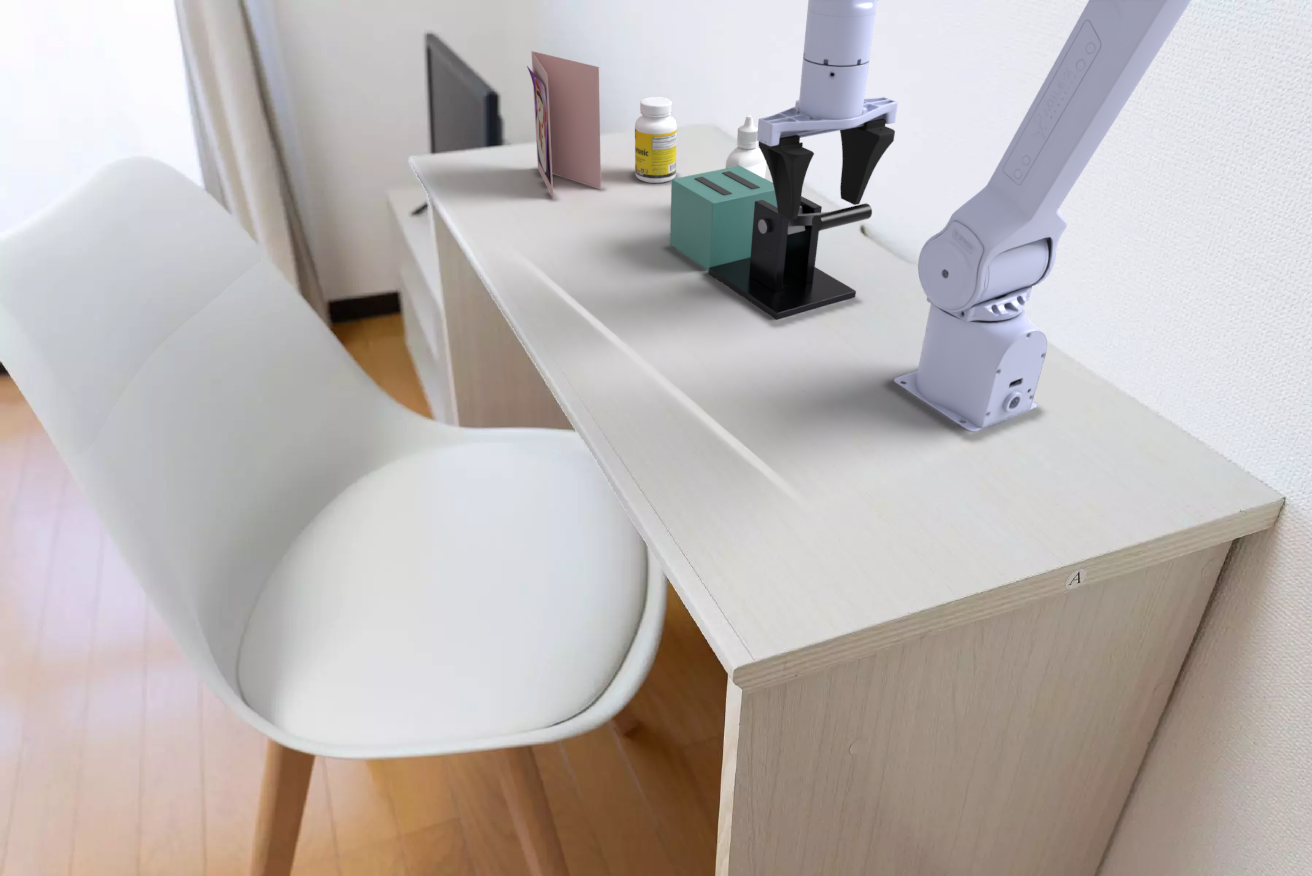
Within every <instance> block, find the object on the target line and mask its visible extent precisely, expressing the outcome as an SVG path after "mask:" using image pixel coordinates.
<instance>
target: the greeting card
mask: <svg viewBox="0 0 1312 876" xmlns="http://www.w3.org/2000/svg"><path fill="white" fill-rule="evenodd" d="M526 68H527V70H528V72H529V75H530V78H531V82H532V88H533V105H534V123H535V138H536V139H535V142H536V159H537V161H536V162H537V170H538V172H539V174H540V176H541V178H542V179H543V182H544V183H545V186H546V187H547V190H548V193H550V196H551V198H552V199H554V179H553V174H554V175H556V176H559V177H562V178H565V179H569V180H570V181H571V180H572V181H575V182H577V183H580V184H584V185H587V186H589V187H593V188H596V189H598V190H601V189H602V168H601V167H602V166H601V165H602V163H601V162H602V159H601V111H600V107H601V106H600V104H601V103H600V67H599V66H596V65H592V64H588V63H584V62H580V61H575V60H571V59H566V58H562V57H559V56H554V55H550V54H546V53H542V52H538V51H533V50H531V69H532V70H531V69H530V68H529V66H528V65H527V66H526Z"/></svg>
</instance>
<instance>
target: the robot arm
mask: <svg viewBox="0 0 1312 876" xmlns="http://www.w3.org/2000/svg"><path fill="white" fill-rule="evenodd" d="M878 1H879V0H807V11H806V22H805V24H806V25H805V32H804V33H805V34H804V42H803V43H804V44H803V54H802V56H803V57H802V66H801V75H800V77H801V78H800V85H799V86H800V87H799V97H798V99H797V100H796V101H795V104H794V105H795V106H793V107H791V108H788V109H786V110H782V111H779V112H777V113H775V114H773V115H770V116H766V117H765V116H764V117H760V118H758V123H757V128H758V135H757V140H758V147H759V148H760V150H761V152H762V154H763V156H764V158H765V160H766V166H767V168H768V171H769V174H770V177H771V180H772V181H771V182H772V183H773V185H774V190H775V195H776V201H777V208H778V214H780V215H782V216H784V217H786V218H788V219H790V220H793V219H797V216H798V213H799V209H800V202H801V196H802V193H803V188H804V187H803V186H804V182H805V178H806V175H807V172H808V169H809V167H810V163H811V161H812V159H813V157H814V155H815V153H814V152H813V151H812V150H810V149H808V148H806V147H804V143H803V142H800V141H801V138H807V137H812V136H818V135H823V134H827V133H833V132H838V131H839V133H840V142H841V153H842V154H841V155H842V156H841V158H842V161H841V163H842V165H841V174H840V175H841V176H840V185H839V186H840V190H839V191H840V192H839V193H840V200H843V201H845V202H846V203H849V204H851V205H853V206H857V205H860V203H861V201H862V198H863V197H864V193H865V191H866V188H867V186H868V184H869V181H870V179H871V177H872V175H873V173H874V172H875V168H876V167H877V165H878V163H879V161H880V160H881V159H882V157H883V155H884V154H885V153H886V151H887V149H888V148H889V147H890V146H891V145H892V144H893V142H894V141H895V136H896V135H895V133H896V130H895V129H894V128H891V127H888V126H886V125H889V124H890V125H891V124H895V123H896V117H897V111H898V106H899V105H898V104H899V101H896V100H893V99H891V98H888V97H885V96H881V97H873V98H871V97H870V98H865V95H866V87H867V82H868V81H867V80H868V74H869V66H870V58H871V57H870V56H871V50H872V43H873V35H874V27H875V19H876V11H877V5H878ZM1191 1H1192V0H1088V1H1087V3H1086V5H1085V7H1084V8H1083V10H1082V12H1081V14H1080V16H1079V17H1078V20H1077V21H1076V23H1075V25H1074V26H1073V28H1072V30H1071V32H1070V34H1069V35H1068V37H1067V39H1066V40H1065V43H1064V45H1063V46H1062V48H1061V50H1060V52H1059V54H1058V56H1057V57H1056V59H1055V61H1054V63H1053V65H1052V67H1050V70H1049V71H1048V74H1047V75H1046V77H1045V79H1044V81H1043V83H1042V84H1041V86H1040V88H1039V90H1038V92H1037V94H1036V95H1035V97H1034V99H1033V101H1032V103H1031V105H1030V106H1029V108H1028V110H1027V112H1026V114H1025V115H1024V117H1023V119H1022V121H1021V122H1020V124H1019V126H1018V128H1017V129H1016V132H1015V134H1014V135H1013V137H1012V139H1011V141H1010V142H1009V145H1008V146H1007V148H1006V149H1005V151H1004V153H1003V155H1002V157H1001V159H1000V161H999V163H998V164H997V166H996V168H995V170H994V171H993V173H992V175H991V177H990V179H989V181H988V182H987V184H986V185H985V186H984V187H983V188H982V189H981V190H979V192H977V193H976V194H975V195H973V196H972V197H971V198H970V199H969V200H967V201H966V202H965V203H963V204H962V205H961V206H960V207H959V208H957V209H956V210H955V211H954V212H953V213H952V214H951V216H950V218H949V220H948V221H947V223H946V224H945V226H944V227H943V229H941V230H940V231H939V232H937V233H936V234H934V235H931V237H930V238H929V239H927V240H926V242H925V243H924V244H923V246H922V248H921V250H920V252H919V255H918V261H917V272H918V278H919V282H920V285H921V289H922V290H923V292H924V294H925V295H926V302H928V303H929V311H928V314H927V315H928V316H927V321H926V326H925V331H924V336H923V339H922V345H921V351H920V356H919V360H918V361H919V362H918V365H917V366H918V367H917V370H914V371H911V372H908V373H905V374H902V375H900V376H897V377H894V378H893V382H894V383H895V384H897V385H898V386H900V387H901V388H903V389H904V390H906V391H907V392H909V393H910V394H912V395H914V397H917V398H918V399H920V400H921V401H923V402H924V403H925V404H927V405H929V406H930V407H931V408H933V409H935V410H936V411H938V412H940V413H941V414H942V415H944V416H945V417H947V418H948V419H950V420H951V421H953V422H955V423H956V424H957V425H959V426H961V427H962V428H963V429H965V430H966V431H968V432H972V433H975V432H979V431H980V430H983V429H986V428H988V427H990V426H993V425H995V424H998V423H1001V422H1003V421H1006V420H1008V419H1011V418H1014V417H1016V416H1019V415H1021V414H1023V413H1026V412H1029V411H1032V410H1034V409H1036V408H1037V406H1038V405H1037V403H1036V402H1034V398H1035V395H1036V391H1037V388H1038V383H1039V380H1040V376H1041V373H1042V371H1043V366H1044V362H1045V359H1046V355H1047V351H1048V339H1047V336H1046V334H1045V333H1044V332H1043V331H1042V330H1041V329H1040V328H1038V327H1037V326H1036V325H1034V323H1033V322H1031V320H1030V319H1029V317H1028V316H1027V314H1026V311H1025V309H1024V307H1025V304H1026V302H1028V301H1029V300H1030V296H1031V293H1032V288H1033V287H1035V286H1037V285H1039V284H1041V283H1042V282H1044V281H1045V280H1046V279H1047V278H1048V276H1049V275H1050V274H1051V272H1052V271H1053V268H1054V266H1055V262H1056V255H1057V247H1058V244H1059V242H1060V239H1061V237H1062V235H1063V234H1064V233H1065V230H1066V229H1067V227H1068V223H1067V221H1066V218H1065V217H1064V214H1063V213H1062V211H1061V210H1060V208H1061V206H1062V204H1063V202H1064V201H1065V199H1066V198H1067V197H1068V195H1069V193H1070V191H1071V190H1072V188H1073V187H1074V186H1075V184H1076V182H1077V180H1078V179H1079V178H1080V176H1081V175H1082V173H1083V171H1084V170H1085V168H1086V167H1087V165H1088V163H1089V162H1090V160H1091V159H1092V157H1093V155H1094V153H1095V152H1096V151H1097V149H1099V146H1100V144H1101V143H1102V141H1103V140H1104V139H1105V137H1106V135H1107V134H1108V132H1109V131H1110V129H1111V127H1112V126H1113V125H1114V122H1115V121H1116V119H1117V118H1118V116H1119V114H1120V112H1121V111H1122V110H1123V108H1124V107H1125V105H1126V104H1127V102H1128V101H1129V99H1130V97H1131V96H1132V94H1133V92H1134V91H1135V90H1136V87H1138V84H1140V82H1141V81H1142V78H1143V77H1144V76H1145V73H1146V72H1147V70H1148V69H1149V67H1150V66H1151V64H1152V63H1153V61H1154V59H1155V58H1156V56H1157V55H1158V54H1159V52H1160V50H1161V48H1162V47H1163V46H1164V44H1165V42H1166V41H1167V39H1168V38H1169V36H1170V34H1171V32H1172V31H1173V30H1174V28H1175V27H1176V25H1177V23H1178V22H1179V20H1180V19H1181V17H1182V16H1183V14H1184V13H1185V11H1186V9H1187V7H1188V6H1189V5H1190V3H1191ZM961 421H962V422H961Z"/></svg>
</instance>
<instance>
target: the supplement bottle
mask: <svg viewBox="0 0 1312 876" xmlns="http://www.w3.org/2000/svg"><path fill="white" fill-rule="evenodd" d="M672 105H673V101H672V100H671V99H669V98H666V97H661V96H650V97H649V96H648V97H645V98H643V99H641V100H640V101H639V113H640V114H641V116H639V117H638V118H637V119H636V121H635V123H634V174H635V178H637V179H638V180H640V181H641V182H645V183H650V184H660V183H661V184H662V183H667V182H671V181H672V179H675V178H676V175H677V142H678V141H677V136H678V134H677V132H678V124H677V121H676V119H675V118H674V117H673V116H671V115H672V110H673V109H672V108H673V107H672Z"/></svg>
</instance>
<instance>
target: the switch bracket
mask: <svg viewBox="0 0 1312 876" xmlns="http://www.w3.org/2000/svg"><path fill="white" fill-rule="evenodd" d="M800 206H802V210H803V214H809V213H822V209H823V207H822V205H819V204H818V203H815V202H814V201H812V200H810V199H808V198H807V197H804V196H802V195H801V202H800ZM788 224H789V219H788V218H786V217H784V216H782V215H780V214H778V208H777V207H775V206H774V205H772V204H770V203H768V202H766V201H764V200H758V201H755V205H754V218H753V231H752V245H751V257H749V258H745V259H741V260H737V261H733V262H729V263H725V264H721V265H717V266H713V267H709V270H707V272H708V275H710V276H711V277H712V278H714V279H715V280H717V281H718V282H720V283H721V284H723V285H724V286H726V287H727V288H729V289H730V290H732V291H733V292H735V294H737V295H738V296H741V297H742V298H743V299H745V300H746V301H748V302H749V303H751V304H752V305H753V306H754V307H755V306H756V307H757V308H758V309H760V310H761V311H763V312H764V313H766V314H767V315H768V316H770V317H771V318H773V319H774V320H776V321H778V320H781V319H785V318H788V317H792V316H796V315H799V314H803V313H807V312H809V311H813V310H816V309H819V308H823V307H826V306H831V305H834V304H837V303H841V302H843V301H848V300H851V299H854V298H856V296H857V295H856V294H857V290H855V289H854V288H852V287H850V286H849V285H847V284H845V283H843V282H841V281H840V280H838V279H836V278H835V277H834V276H831V275H830V274H828V273H826V272H824V271H823V270H821V269H820V268H818V267H816V260H817V251H818V242H819V233H820V231H816V230H815V229H814V228H813V226H812V225H807V226H805V231H801V232H797V233H793V234H789V235H787V234H788Z"/></svg>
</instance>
